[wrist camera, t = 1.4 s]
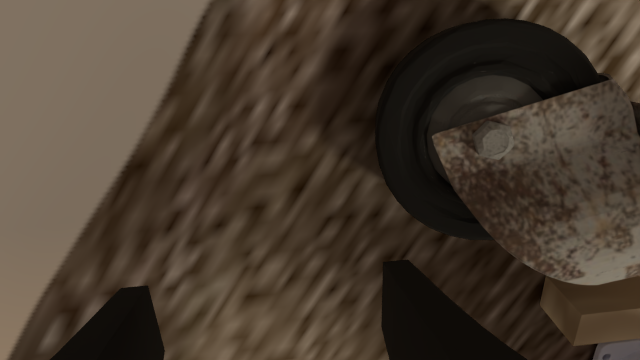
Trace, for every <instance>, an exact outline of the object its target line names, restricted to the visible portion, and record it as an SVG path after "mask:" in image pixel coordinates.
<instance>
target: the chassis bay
mask: <svg viewBox="0 0 640 360" xmlns="http://www.w3.org/2000/svg"><path fill="white" fill-rule="evenodd" d="M540 306H541V307H542V309H543V310H544V311H545V312H546V313H547V315H548V316H549V317H550V318H551V320H552V321H553V322H554V323H555V325H556V326H557V327H558V328H559V329H560V331H561V332H562V333H563V334H564V336H565V337H566V338H567V339H568V341H569V342H570V343H571V344H572V345H573V346H580V345H588V344H597V343H605V342H613V341H622V340H630V339H639V338H640V276H635V277H631V278H626V279H622V280H617V281H613V282H609V283H604V284H600V285H580V284H574V283H569V282H564V281H561V280H558V279H555V278H552V277H549V276H546V278H545V283H544V287H543V292H542V296H541V301H540Z"/></svg>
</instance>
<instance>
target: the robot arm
mask: <svg viewBox="0 0 640 360" xmlns="http://www.w3.org/2000/svg"><path fill="white" fill-rule="evenodd" d="M382 331H383V335H384V339H385V343H386V348H387V352H388V355H389V359H390V360H527V359H526V358H524V357H523V356H521V355H520V354H518V353H517V352H515V351H514V350H513V349H511V348H510V347H509V346H507V345H506V344H504V343H503V342H502V341H500V340H499V339H498V338H497V337H495V336H494V335H493V334H491V333H490V332H489V331H487V330H486V329H485V328H484V327H482V326H481V325H480V324H479V323H477V322H476V321H475V320H474V319H473V318H471V317H470V316H469V315H468V314H467V313H466V312H465V311H463V310H462V309H461V308H460V307H459V306H458V305H456V304H455V303H454V302H453V301H452V300H451V299H450V298H449V297H447V296H446V295H445V294H444V293H443V292H442V291H441V290H440V289H439V288H438V287H437V286H435V285H434V284H433V283H432V282H431V281H430V280H429V279H428V278H427V277H426V276H425V275H424V274H423V273H422V272H421V271H420V270H419V269H418V268H416V267H415V266H414V265H413V264H412V263H411V262H410V261H409V260H400V261H389V262H383V289H382ZM164 352H165V350H164V346H163V342H162V338H161V334H160V330H159V327H158V323H157V319H156V315H155V311H154V307H153V303H152V300H151V296H150V292H149V288H148V286H138V287H128V288H121V289H120V290H119V291H118V292H117V293H116V294H114V296H113V297H112V298H111V299H110V300H109V301H108V302H107V303H106V304H105V305H104V306H103V307H102V308H101V309H100V310H99V311H98V312H97V313H96V314H95V315H94V316H93V317H92V318H91V319H90V320H89V321H88V322H87V323H86V324H85V325H84V326H83V327H82V328H81V329H80V330H79V331H78V332H77V333H76V334H75V335H74V336H73V337H72V338H71V339H70V340H69V341H68V342H67V343H66V344H65V345H64V346H63V347H62V348H61V350H60V351H59V352H58V353H57V354H55V355H54V356H53V357H52V358H51V359H50V360H163V359H164ZM593 360H640V338H639V339H630V340H622V341H613V342H605V343H599V344H598V345H597V347H596V350H595V354H594V357H593Z"/></svg>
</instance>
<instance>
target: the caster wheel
mask: <svg viewBox="0 0 640 360" xmlns="http://www.w3.org/2000/svg"><path fill="white" fill-rule="evenodd" d="M375 141H376V148H377V155H378V161H379V166H380V169H381V171H382V174H383V176H384V179H385V181H386V184H387V186H388V187H389V189H390V190H391V192H392V193H393V195H394V197H395V198H396V200H397V201H398V202H399V203H400V204H401V205H402V206H403V208H404V209H405V210H406V211H407V212H408V213H409V214H411V215H412V216H413V217H414V218H416V219H417V220H418V221H420V222H421V223H423V224H425V225H426V226H428V227H429V228H432V229H434V230H436V231H439V232H441V233H444V234H447V235H450V236H454V237H459V238H464V239H469V240H496V241H497V242H498V243H499V244H500V245H501V246H502V247H503V248H504V249H505V250H506V251H507V252H509V253H510V254H511V255H513V256H514V257H515V258H517V259H518V260H519V261H521V262H522V263H524V264H526V265H527V266H529V267H531V268H532V269H534V270H536V271H538V272H540V273H542V274H544V275H547V276H549V277H552V278H555V279H558V280H561V281H564V282H569V283H574V284H580V285H600V284H604V283H609V282H613V281H617V280H622V279H626V278H631V277H635V276H640V103H636V102H631V101H630V100H629V98H628V96H627V94H626V93H625V92H624V91H623V90H622V89H621V87H620V86H619V85H618V84H617V83H616V81H615V80H614V79H613V78H612V77H611V76H610V75H609V74H605V73H597V72H596V70H595V69H594V67H593V66H592V64H591V63H590V61H589V59H588V58H587V56H586V55H585V54H584V53H583V52H582V51H581V50H580V49H579V48H578V47H576V46H575V45H574V44H573V43H572V42H570V41H569V40H568V39H567V38H565V37H564V36H562V35H560V34H559V33H557V32H555V31H553V30H552V29H550V28H547V27H544V26H542V25H539V24H535V23H531V22H528V21H524V20H514V19H489V20H482V21H477V22H472V23H467V24H462V25H459V26H456V27H453V28H450V29H447V30H444V31H442V32H440V33H438V34H436V35H434V36H432V37H430V38H428V39H427V40H425V41H424V42H423V43H421V44H420V45H419V46H417V47H416V48H415V49H414V50H412V51H411V52H410V53H409V54H408V55H407V56H406V57H405V58H404V59H403V60H402V61H401V62H400V63H399V64H398V66H397V67H396V69H395V70H394V72H393V73H392V75H391V76H390V78H389V79H388V81H387V83H386V86H385V88H384V91H383V93H382V95H381V98H380V100H379V104H378V109H377V114H376V129H375Z"/></svg>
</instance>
